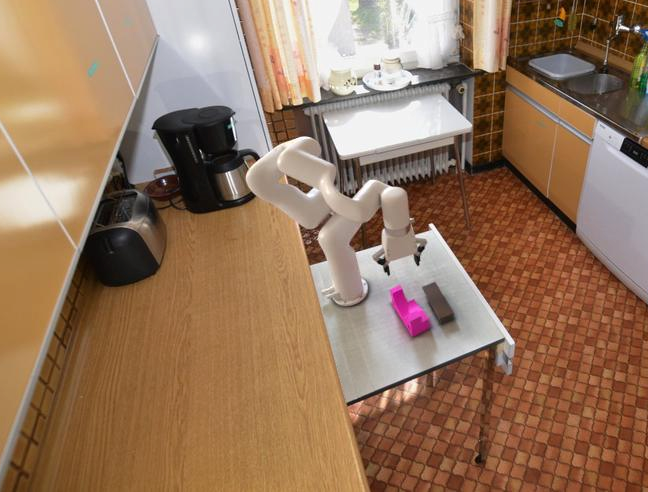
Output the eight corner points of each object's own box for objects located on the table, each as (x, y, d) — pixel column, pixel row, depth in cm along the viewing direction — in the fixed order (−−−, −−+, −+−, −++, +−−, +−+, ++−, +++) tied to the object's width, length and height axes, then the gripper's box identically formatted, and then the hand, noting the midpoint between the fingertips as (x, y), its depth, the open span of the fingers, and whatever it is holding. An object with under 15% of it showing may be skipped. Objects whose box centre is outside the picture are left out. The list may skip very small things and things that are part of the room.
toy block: (430, 327, 140) (428, 312, 136) (412, 336, 138) (410, 321, 133) (408, 296, 151) (406, 281, 147) (392, 304, 149) (389, 289, 145)
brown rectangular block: (422, 291, 153) (422, 286, 151) (435, 286, 154) (435, 281, 153) (440, 324, 141) (439, 318, 139) (454, 318, 142) (454, 313, 141)
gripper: (420, 210, 133) (423, 251, 143) (365, 226, 128) (372, 268, 138) (429, 225, 127) (432, 267, 137) (372, 243, 122) (379, 285, 132)
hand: (402, 267), depth 137 cm, fingers open, 9 cm apart
